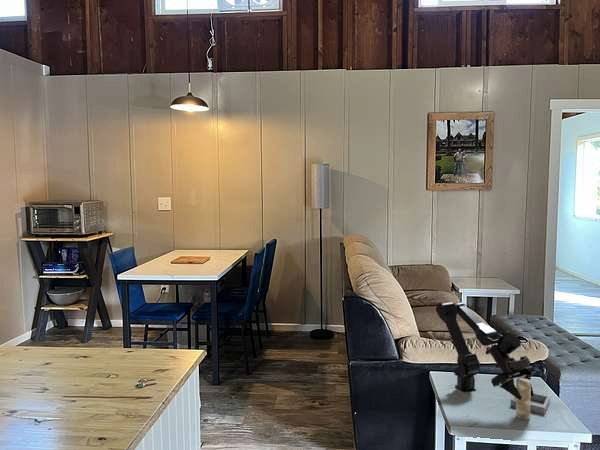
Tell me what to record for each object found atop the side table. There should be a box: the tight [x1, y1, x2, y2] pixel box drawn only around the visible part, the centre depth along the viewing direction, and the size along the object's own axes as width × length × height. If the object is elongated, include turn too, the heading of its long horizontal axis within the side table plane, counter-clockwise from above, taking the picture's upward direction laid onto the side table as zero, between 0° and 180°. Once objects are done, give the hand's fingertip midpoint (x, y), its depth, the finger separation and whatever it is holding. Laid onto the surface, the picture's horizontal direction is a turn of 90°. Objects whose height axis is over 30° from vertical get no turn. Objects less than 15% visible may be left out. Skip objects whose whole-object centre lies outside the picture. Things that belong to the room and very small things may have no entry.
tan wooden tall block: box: [515, 378, 532, 421], centre depth 170 cm, size 5×5×14 cm
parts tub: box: [510, 392, 551, 415], centre depth 181 cm, size 12×12×2 cm
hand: (526, 397), depth 169 cm, fingers open, 6 cm apart
